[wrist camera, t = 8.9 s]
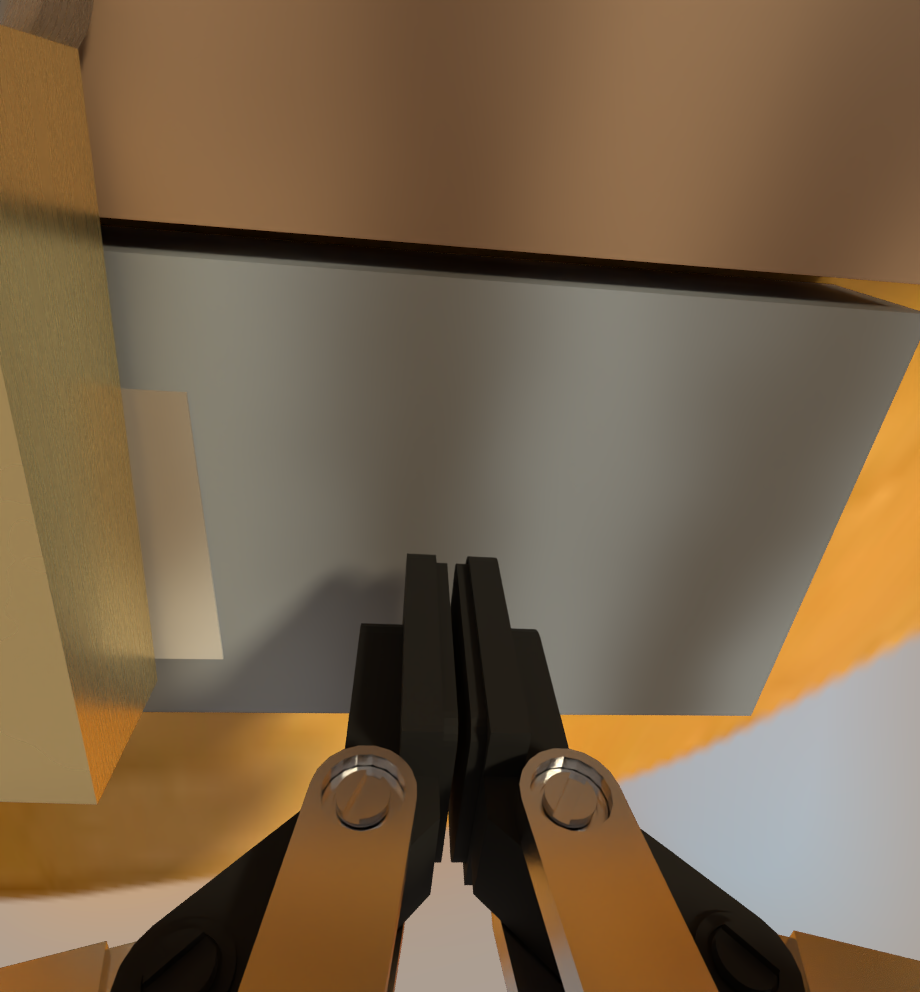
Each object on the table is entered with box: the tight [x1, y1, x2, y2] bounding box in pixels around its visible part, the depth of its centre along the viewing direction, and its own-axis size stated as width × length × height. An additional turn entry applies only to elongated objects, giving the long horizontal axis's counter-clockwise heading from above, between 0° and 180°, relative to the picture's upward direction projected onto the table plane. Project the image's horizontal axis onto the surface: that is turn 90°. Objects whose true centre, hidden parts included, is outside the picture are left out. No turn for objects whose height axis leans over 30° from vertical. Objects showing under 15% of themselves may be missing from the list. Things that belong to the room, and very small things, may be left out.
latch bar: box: [0, 0, 158, 804], centre depth 9 cm, size 14×3×3 cm, turn 172°
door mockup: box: [78, 0, 920, 716], centre depth 12 cm, size 19×17×3 cm
